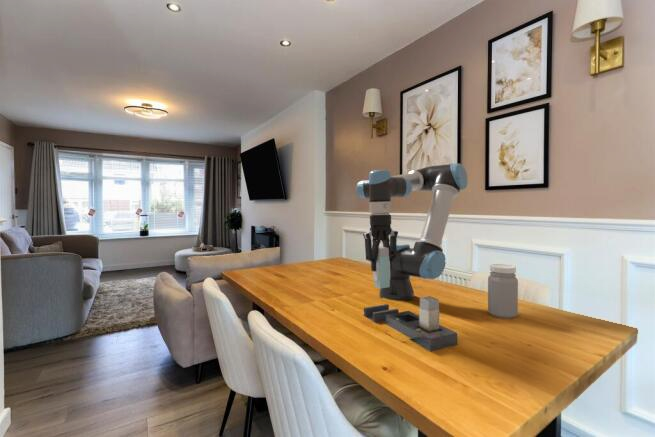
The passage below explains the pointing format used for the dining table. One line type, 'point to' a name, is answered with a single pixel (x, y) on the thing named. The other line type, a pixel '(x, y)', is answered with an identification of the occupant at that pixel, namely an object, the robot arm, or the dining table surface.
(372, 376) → the dining table surface
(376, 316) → the holster
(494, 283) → the jar
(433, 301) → the port block
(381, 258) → the plug
